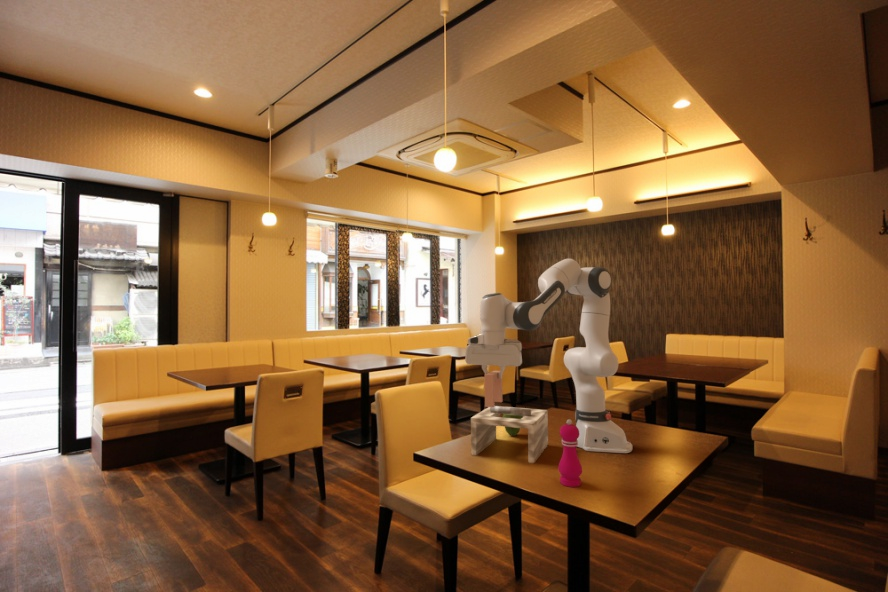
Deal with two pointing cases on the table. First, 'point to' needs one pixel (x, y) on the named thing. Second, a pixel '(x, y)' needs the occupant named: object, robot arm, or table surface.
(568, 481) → the pepper mill
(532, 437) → the shelf
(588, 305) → the robot arm
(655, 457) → the table surface
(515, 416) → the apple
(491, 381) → the u piece
